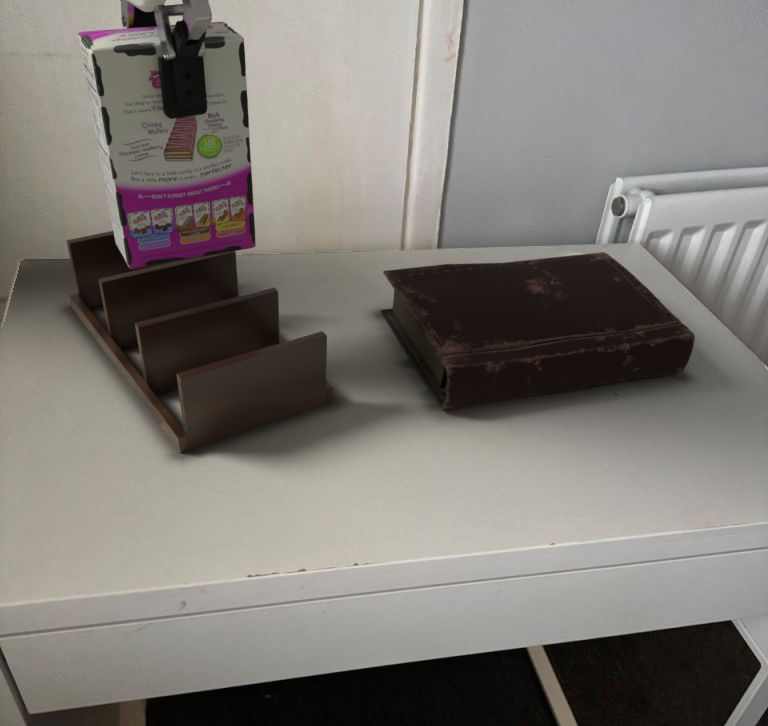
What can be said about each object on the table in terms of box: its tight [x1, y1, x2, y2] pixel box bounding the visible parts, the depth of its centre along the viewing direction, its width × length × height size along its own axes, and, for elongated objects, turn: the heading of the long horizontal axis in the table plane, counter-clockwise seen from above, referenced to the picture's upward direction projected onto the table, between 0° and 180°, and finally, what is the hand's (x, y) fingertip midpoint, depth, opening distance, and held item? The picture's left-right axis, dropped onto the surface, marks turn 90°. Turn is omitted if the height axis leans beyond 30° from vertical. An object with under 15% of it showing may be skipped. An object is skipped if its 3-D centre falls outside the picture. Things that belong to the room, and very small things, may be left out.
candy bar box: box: [77, 21, 256, 269], centre depth 65 cm, size 11×5×16 cm, turn 118°
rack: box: [66, 230, 335, 453], centre depth 76 cm, size 26×15×7 cm, turn 34°
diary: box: [380, 251, 696, 411], centre depth 81 cm, size 19×25×5 cm
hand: (169, 99), depth 63 cm, fingers closed on candy bar box, 5 cm apart
